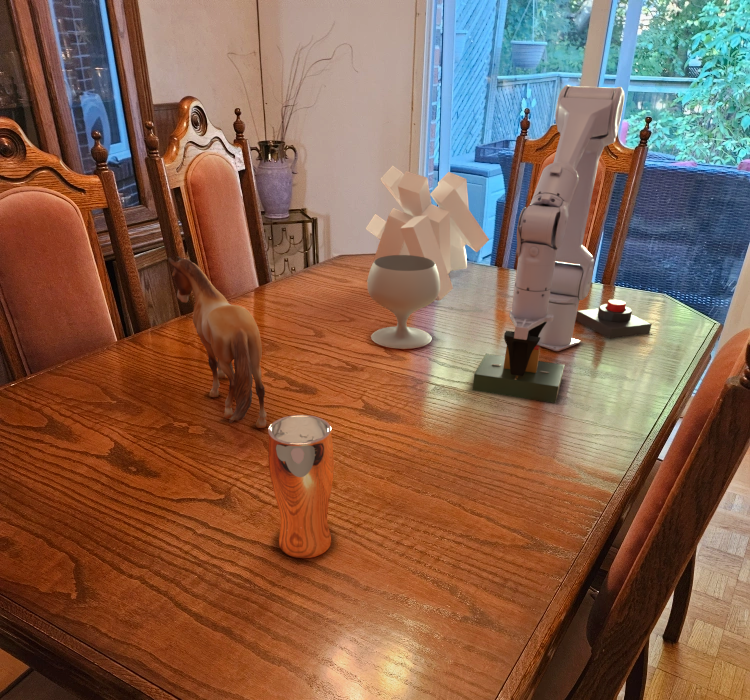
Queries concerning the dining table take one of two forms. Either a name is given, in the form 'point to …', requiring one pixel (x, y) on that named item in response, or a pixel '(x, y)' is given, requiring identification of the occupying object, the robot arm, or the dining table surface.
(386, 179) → the pile of blocks
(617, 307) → the red button
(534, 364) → the upright orange tab
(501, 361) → the switch panel
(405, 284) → the chalice
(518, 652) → the dining table surface
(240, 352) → the horse figurine
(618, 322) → the switch block
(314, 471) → the beer glass
